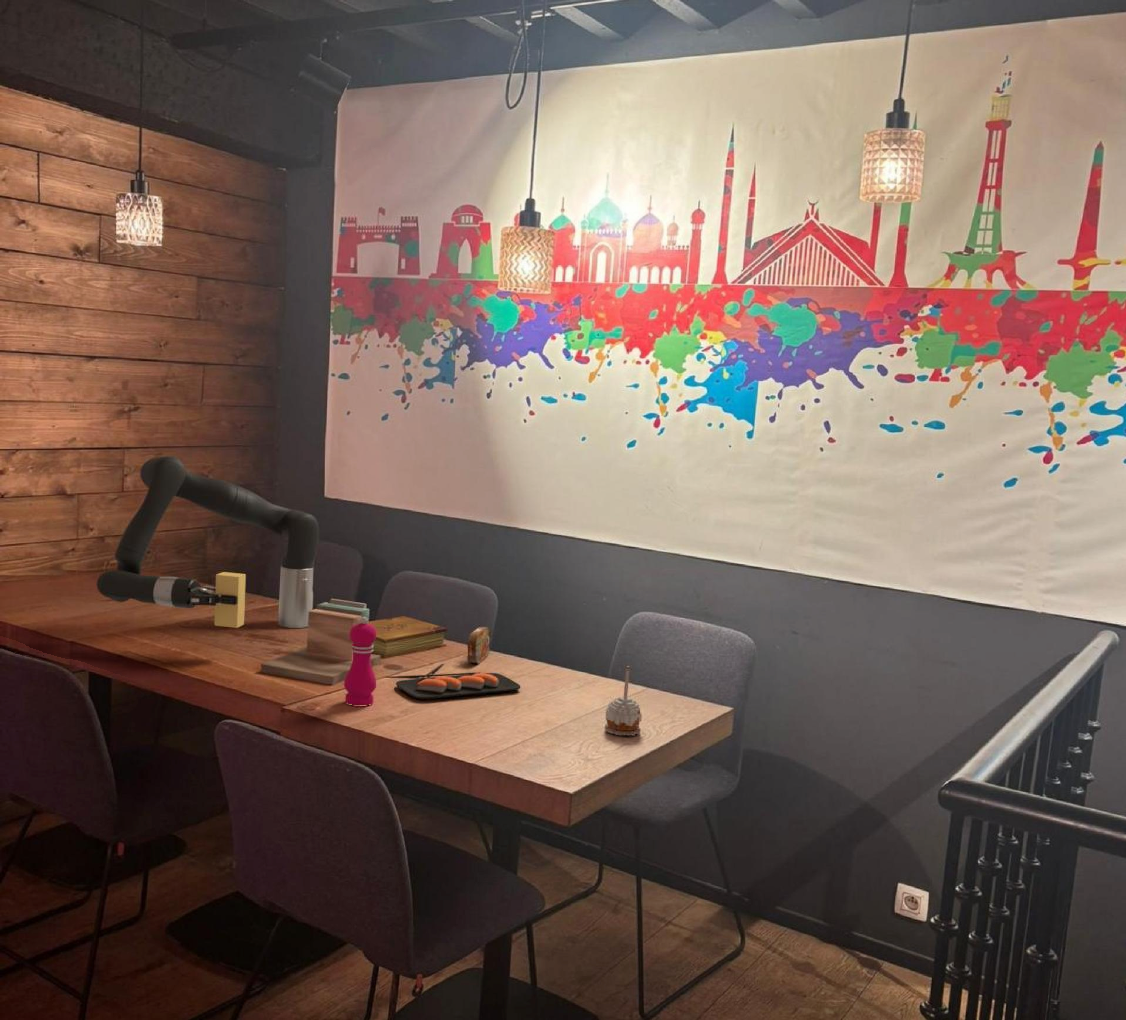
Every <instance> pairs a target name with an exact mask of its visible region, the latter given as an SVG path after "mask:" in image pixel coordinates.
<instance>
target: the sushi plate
mask: <svg viewBox="0 0 1126 1020" xmlns="http://www.w3.org/2000/svg"><path fill="white" fill-rule="evenodd" d="M443 666H445V664H444V663H441V664H440V665H438V666H437V667H436V668H434V669H432V670H431V671H430V672H428V673H427V674H418V675H417V674H415V675H413V674H412V675H395V676H393V675H391V676H385V677H386V679H387V678H389V679H402V680H398V681H396V682H395V685H396V687H398V688H399V689H400V690H402V691H403V692H404V693H406V694H407V695H409V696H411V697H413V698H415V699H422V700H423V699H439V698H440V699H441V697H442V698H452V697H462V696H471V695H472V694H473V695H481V694H491V693H501V692H512V691H517V690H520V689H521V685H520V684H519V683H518V682H516V681H514V680H512V679H510V678H508V677H507V676H505V675H503V674H500V673H495V672H483V673H482V672H461V673H459V672H458V673H444V674H443V673H440V674H434V673H435V672H437V671H438V670H440V669H441V668H442V667H443Z"/></svg>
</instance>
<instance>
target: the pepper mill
mask: <svg viewBox="0 0 1126 1020" xmlns="http://www.w3.org/2000/svg"><path fill="white" fill-rule="evenodd" d="M367 622H368V619H367V618H366V617H362V618H361V619H360V623H359V624H356V625H354V626H353V627H352V629H351V631H350V639H351V641H352V642H353V644H352V645H351V647H352V648H351V651H352V652H353V662H352V665H351V667H350V670H349V671H348V673H347V675H346V678H345V680H344V682H343V687H344V689H345V690H346V691H347V693H346V694H345V701H344V703H345V704H346V703H348V704H352V705H369V704H371V705H373V704H372V703H374V695H373V692H374V691H375V689H376V688H377V679H376V675H375V673H374V670H373V667H372V666H371V652H373V647H374V646H373V644H372V643H373V642H374V641H375V639H376V630H375V628H374V627H373V626H372V625H370V624H367ZM348 704H347V705H348ZM369 706H370V705H369Z"/></svg>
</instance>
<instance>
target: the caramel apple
mask: <svg viewBox="0 0 1126 1020" xmlns="http://www.w3.org/2000/svg"><path fill="white" fill-rule="evenodd" d="M630 669H631V667H630V666H629V665H627V666H626V667H625V677H624V678H625V679H624V690H623V696H620V697H619V696H618V698H617V697H616V698H614V700H611V701H610V702H609V703H608V707H606V709H605V721H606V724H605V726H604V730H605V731H606V732H608V733H609V734H614V735H616V736H623V735H627V736H629V735H632V736H636V735H635V734H637V735H639V734H640V733H641V730H642V729H641V728H640V723H641V722H642V721H643V720H642V713H641V707H640V705H639V704H638V702H637V700H635V699H633V698H631V697H629V696H628V693H629V692H628V691H629V680H630ZM638 733H639V734H638Z"/></svg>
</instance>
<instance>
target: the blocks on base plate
mask: <svg viewBox="0 0 1126 1020" xmlns="http://www.w3.org/2000/svg"><path fill="white" fill-rule="evenodd" d="M362 617H366V618H367V619H368V622H367V624H369V622H370V620H369V619H370V608H367V603H363V602H357V601H351V600H343V599H336V598H331V599H330V601H329V602H326V601H325V602H322V603H319V604H317V605H316V608H315V609H312V610H311V611H309V615H308V627H307V639H306V646H305V647H303V648H300V649H298V650H295V651H292V652H289V653H287V654H284V655H282V656H281V655H280V656H279V657H275V658H273V659H271V660H269V661H265V662H263V663H260V673H263V674H268V673H269V674H270V675H275V676H280V677H287V678H292V679H297V680H303V681H308V682H309V681H310V682H315V683H320V684H325V685H330V684H331V686H335V685H337V684H338V683H340V682H342V681H345V678H346V675H347V673H348V671H349V670H350V667H351V665H352V662H353V652H352V651H351V648H352V647H351V645H352V644H353V642H352V641H351V639H350V631H351V629H352V627H353V626H354V625H356V624H359V623H360V619H361V618H362ZM381 658H382V657H381V655H375V654H371V666H372V668H373V667H375V666H377V665H379V664H381Z"/></svg>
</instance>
